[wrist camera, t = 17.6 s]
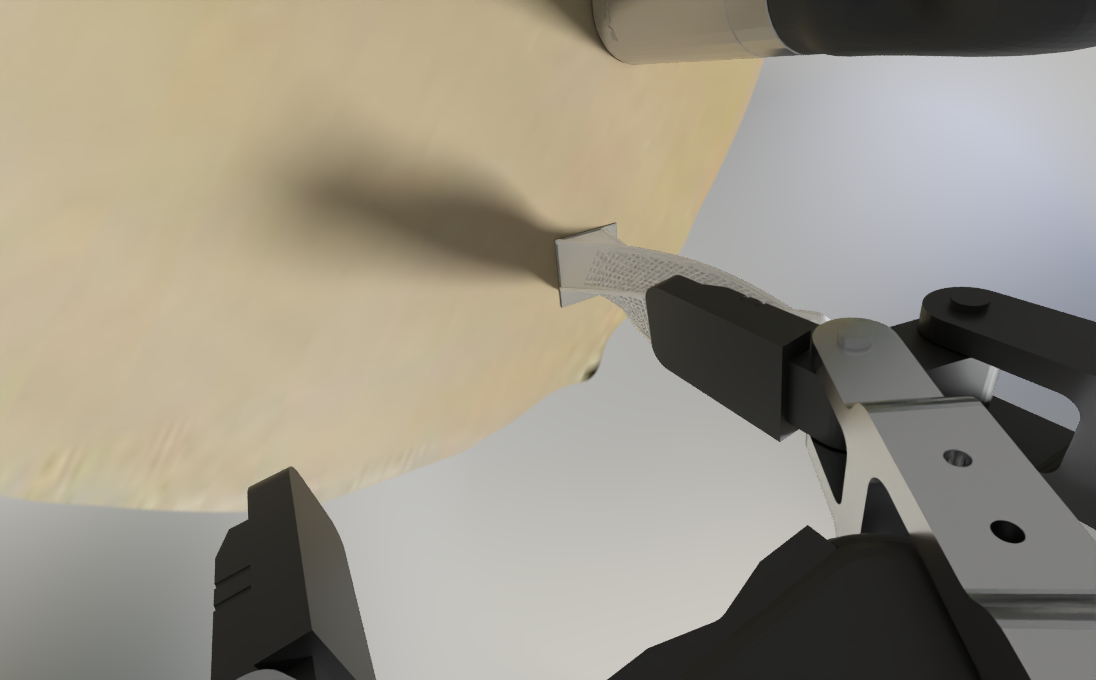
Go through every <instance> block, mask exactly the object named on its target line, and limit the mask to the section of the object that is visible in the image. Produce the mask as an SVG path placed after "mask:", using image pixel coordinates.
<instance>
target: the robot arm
mask: <svg viewBox="0 0 1096 680" xmlns="http://www.w3.org/2000/svg"><path fill="white" fill-rule="evenodd" d="M592 4H593V16H594V20H595V25H596V29H597V31H598V34H599V36H600V39H601V41H602V42H603V44H604V45H605V47H606V48H607V50H608V51H609V52H610V53H611V54H612V55H613V56H614V57H615V58H617V59H619V60H620V61H622V62H624V63H628V64H632V65H634V64H655V63H678V62H696V61H713V60H731V59H748V58H765V57H778V56H795V55H812V54H827V55H833V56H872V55H916V56H961V57H988V56H1022V55H1035V54H1047V53H1057V52H1066V51H1074V50H1079V49H1084V48H1089V47H1094V46H1096V0H592ZM645 299H646V307H647V314H648V322H649V329H650V336H651V343H652V348H653V351H654V353H655V355H656V357H657V358H658V360H659V361H660V363H661V364H662V365H663V366H664V367H665V368H667V369H668V370H670V371H671V372H673V373H674V374H676V375H677V376H679V377H680V378H682V379H683V380H685V381H687V382H688V383H690V384H691V385H693V386H694V387H696V388H697V389H699V390H700V391H702V392H703V393H705V394H707V395H708V396H710V397H712V398H713V399H714V400H716V401H717V402H719V403H720V404H722V405H724V406H725V407H727V408H728V409H730V410H731V411H733V412H734V413H736V414H737V415H739V416H741V417H742V418H744V419H745V420H747V421H748V422H750V423H751V424H753V425H754V426H756V427H757V428H759V429H761V430H762V431H764V432H765V433H767V434H768V435H770V436H771V437H773V438H774V439H776V440H778V441H779V442H781V441H782V440H784V439H785V438H787V437H788V436H790V435H791V434H793V433H794V432H795V431H797V430H798V429H800V430H802V431H803V432H805V433H806V447H807V450H808V453H809V456H810V458H811V461H812V463H813V466H814V469H815V472H816V474H817V477H818V480H819V482H820V485H821V488H822V490H823V493H824V496H825V498H826V501H827V504H828V506H829V509H830V512H831V515H832V518H833V520H834V524H835V530H836V538H832V539H828V540H826V539H825V538H824V537H823V536H821V535H820V534H819V533H817V532H816V531H815V530H813V529H812V528H811V527H809V526H808V525H807V526H806V527H805V528H803V529H802V530H801V531H799V532H798V533H797V534H796V535H794V536H793V537H792V538H790V539H789V540H788V541H786V542H785V543H784V544H783V545H781V546H780V547H779V548H777V549H776V550H775V551H773V552H772V553H771V554H770V555H768V556H767V557H766V558H764V559H763V560H762V561H761V562H760V563H759V564H758V566H757V567H756V569H755V570H754V571H753V573H752V574H751V576H750V577H749V579H748V580H747V582H746V583H745V585H744V586H743V588H742V589H741V591H740V593H739V594H738V595H737V597H736V598H735V600H734V601H733V602H732V604H731V605H730V607H729V608H728V610H727V611H726V613H725V614H724V615H723V616H722V617H721V618H720V619H719V620H717V621H716V622H713V623H711V624H708V625H705V626H703V627H700V628H698V629H695V630H693V631H691V632H688V633H685V634H683V635H680V636H678V637H675V638H673V639H670V640H668V641H665V642H663V643H660V644H658V645H655V646H653V647H650V648H648V649H646V650H645V651H644V652H643V653H642V654H640V655H639V656H637V657H636V658H635V659H634V660H632V661H631V662H630V663H628V664H627V665H626V666H624V667H623V668H622V669H621V670H619V671H618V672H617V673H615V674H614V675H613V676H612V677H610V678H609V679H608V680H1096V541H1095V540H1094V539H1093V538H1092V536H1091V535H1090V534H1089V533H1088V532H1087V530H1086V529H1085V528H1084V527H1083V525H1082V524H1081V523H1080V522H1079V521H1081V522H1082V523H1084V524H1086V525H1088V526H1090V527H1091V528H1093V529H1095V530H1096V322H1094V321H1091V320H1087V319H1084V318H1080V317H1077V316H1074V315H1070V314H1067V313H1064V312H1060V311H1057V310H1054V309H1050V308H1047V307H1044V306H1040V305H1037V304H1033V303H1030V302H1027V301H1024V300H1020V299H1017V298H1013V297H1010V296H1007V295H1003V294H1000V293H996V292H993V291H989V290H985V289H980V288H972V287H951V288H944V289H940V290H936V291H934V292H931V293H929V294H928V295H927V296H926V297H925V298H924V299H923V302H922V307H921V313H920V318H919V319H917V320H913V321H909V322H906V323H903V324H899V325H896V326H892V327H888V326H886V325H884V324H882V323H880V322H877V321H873V320H869V319H863V318H839V319H834V320H830V321H827V322H825V323H823V324H821V325H819V324H817V323H814V322H812V321H809V320H807V319H804V318H802V317H799V316H797V315H794V314H792V313H789V312H787V311H784V310H782V309H780V308H777V307H775V306H772V305H770V304H767V303H765V304H763V303H762V301H760V300H757V299H755V298H752V297H747V296H746V295H745V294H742V293H740V292H737V291H735V290H733V289H730V288H728V287H721V286H714V285H707V284H701V283H698V282H696V281H693V280H691V279H689V278H686V277H684V276H681V275H674V276H672V277H670V278H668V279H666V280H664V281H662V282H660V283H658V284H656V285H654V286H652V287H650V288H648V289H647V291H646V295H645ZM1000 370H1003V371H1006V372H1008V373H1011V374H1013V375H1016V376H1018V377H1021V378H1023V379H1026V380H1028V381H1031V382H1033V383H1036V384H1038V385H1041V386H1043V387H1045V388H1048V389H1051V390H1053V391H1055V392H1058V393H1060V394H1062V395H1064V396H1066V397H1067V398H1068V399H1070V400H1071V401H1072V402H1073V403H1074V404H1075V405H1076V407H1077V408H1078V410H1079V412H1080V422H1079V424H1078V427H1077V429H1076V431H1075V432H1074V431H1071V430H1069V429H1067V428H1065V427H1063V426H1060V425H1058V424H1056V423H1053V422H1051V421H1049V420H1047V419H1044V418H1042V417H1040V416H1038V415H1035V414H1033V413H1031V412H1028V411H1026V410H1024V409H1021V408H1020V407H1017V406H1015V405H1013V404H1011V403H1008V402H1006V401H1004V400H1002V399H999V398H997V397H995V396H993V393H994V389H995V386H996V383H997V380H998V376H999V373H1000ZM247 494H248V520H246V521H244V522H243V523H241V524H239V525H237V526H235V527H233V528H231V529H229V531H228V533H227V535H226V537H225V539H224V541H223V543H222V545H221V547H220V550H219V552H218V554H217V556H216V558H215V583H214V584H215V585H216V589H215V590H214V607H215V610H216V611H214V612H213V636H212V638H213V639H212V664H211V680H376V678H375V674H374V669H373V665H372V662H371V657H370V653H369V649H368V645H367V640H366V637H365V632H364V628H363V624H362V620H361V616H360V611H359V607H358V603H357V599H356V595H355V591H354V587H353V582H352V579H351V574H350V570H349V566H348V562H347V558H346V553H345V550H344V546H343V543H342V541H341V538H340V536H339V534H338V532H337V530H336V528H335V526H334V524H333V522H332V521H331V519H330V518H329V516H328V515H327V513H326V512H325V510H324V509H323V507H322V506H321V505H320V503H319V502H318V500H317V499H316V497H315V496H314V495H313V493H312V492H311V490H310V489H309V487H308V486H307V484H306V483H305V482H304V480H303V479H302V477H301V476H300V474H299V473H298V472H297V471H296V470H295V469H294V468H293V467H288V468H286V469H284V470H282V471H280V472H278V473H276V474H274V475H272V476H270V477H268V478H266V479H264V480H262V481H260V482H258V483H256V484H254V485H252V486H250V487H249V488H248V493H247ZM1078 520H1079V521H1078Z"/></svg>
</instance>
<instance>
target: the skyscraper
mask: <svg viewBox="0 0 1096 680" xmlns="http://www.w3.org/2000/svg"><path fill="white" fill-rule="evenodd" d="M554 241H555V250H556V260H557V269H558V279H559V289H560V298H561V307H562V308H563V307H566V306H569V305H572V304H575V303H578V302H581V301H584V300H586V299H589V298H592V297H595V296H598V295H600V296H603V297H605V298H607V299H608V300H610V301H612V302H613V303H615V304H616V305H617V306H619V307H620V308H621V309H622V310H623V311H624V313H625V314H626V316H627V317H628V318H629V319H630V321H631V322H632V323H633V325H634V326H635V327H636V328H637V330H638V331H639V332H640V333H641V334H642V335H643V336H644V337H645V338H646V339H647V340H648V341H649V342H650V343H651V336H650V329H649V322H648V314H647V307H646V299H645V295H646V291H647V289H648V288H650V287H652V286H654V285H656V284H658V283H660V282H662V281H664V280H666V279H668V278H670V277H672V276H674V275H681V276H684V277H686V278H689V279H691V280H693V281H696V282H698V283H701V284H707V285H714V286H721V287H728V288H730V289H733V290H735V291H737V292H740V293H742V294H745V295H746V296H747V297H752V298H755V299H757V300H760V301H762V303H763V304H765V303H767V304H770V305H772V306H775V307H777V308H780V309H782V310H784V311H787V312H789V313H792V314H794V315H797V316H799V317H802V318H804V319H807V320H809V321H812V322H814V323H817V324H819V325H821V324H823V323H825V322H827V321H830V320H829V319H828V318H827V317H826V316H824V315H823V314H821V313H818V312H813V311H805V310H796V309H793V308H791V307H789V306H788V305H786V304H784V303H783V302H781V301H780V300H778V299H776V298H775V297H773V296H771V295H770V294H768V293H766V292H764V291H763V290H761V289H759V288H757V287H755V286H754V285H752V284H750V283H748V282H746V281H744V280H742V279H740V278H738V277H736V276H734V275H731V274H729V273H727V272H724V271H722V270H719V269H717V268H715V267H712V266H709V265H706V264H703V263H701V262H698V261H695V260H691V259H688V258H684V257H681V256H678V255H673V254H669V253H665V252H661V251H656V250H650V249H645V248H640V247H633V246H627V245H626V244H624V243H623V242H622V241H621V240H619V239H618V238H617V223H614V224H610V225H607V226H603V227H600V228H596V229H593V230H589V231H586V232H582V233H579V234H575V235H572V236H568V237H565V238H561V239H557V240H554ZM651 344H652V343H651Z"/></svg>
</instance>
